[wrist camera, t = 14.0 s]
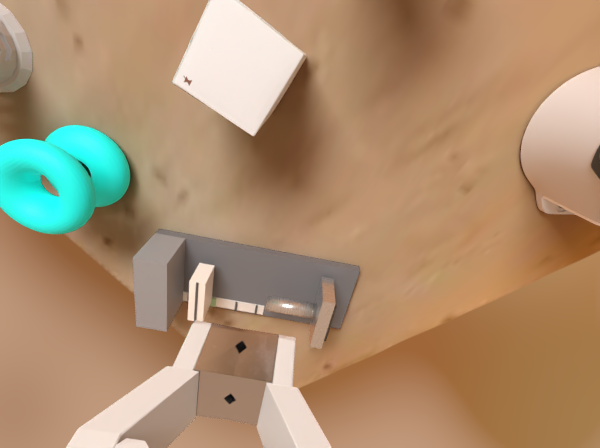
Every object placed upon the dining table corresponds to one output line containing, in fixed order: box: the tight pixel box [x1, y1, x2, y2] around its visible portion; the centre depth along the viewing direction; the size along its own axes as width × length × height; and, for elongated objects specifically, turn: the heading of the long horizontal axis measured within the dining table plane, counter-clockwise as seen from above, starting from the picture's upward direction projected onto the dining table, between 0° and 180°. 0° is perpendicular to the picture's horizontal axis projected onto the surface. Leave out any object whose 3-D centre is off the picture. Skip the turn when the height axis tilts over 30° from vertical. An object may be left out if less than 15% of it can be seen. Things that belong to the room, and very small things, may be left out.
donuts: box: [0, 125, 130, 234], centre depth 36 cm, size 10×10×10 cm
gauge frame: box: [133, 229, 360, 331], centre depth 44 cm, size 28×11×7 cm, turn 79°
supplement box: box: [172, 0, 307, 136], centre depth 29 cm, size 7×7×13 cm
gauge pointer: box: [188, 263, 215, 321], centre depth 43 cm, size 2×6×4 cm, turn 169°
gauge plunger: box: [265, 277, 337, 349], centre depth 44 cm, size 9×8×5 cm
